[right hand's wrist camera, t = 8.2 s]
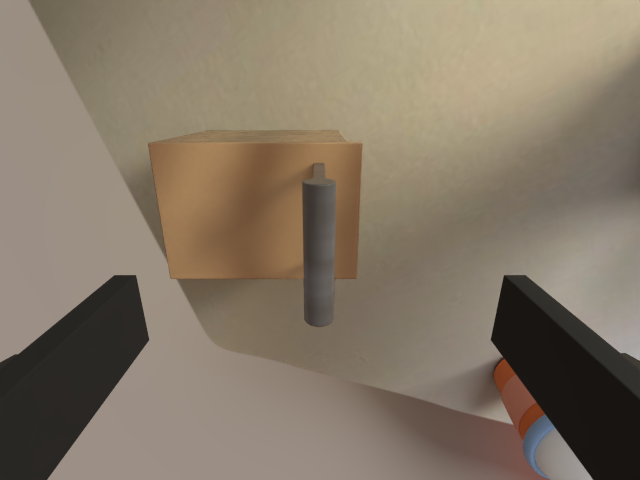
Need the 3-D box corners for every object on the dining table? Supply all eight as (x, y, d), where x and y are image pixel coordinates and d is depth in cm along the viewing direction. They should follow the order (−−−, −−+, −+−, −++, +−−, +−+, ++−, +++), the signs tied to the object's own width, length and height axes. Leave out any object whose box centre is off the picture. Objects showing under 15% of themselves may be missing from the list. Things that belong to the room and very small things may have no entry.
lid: (360, 141, 23) (382, 160, 15) (355, 272, 27) (371, 344, 19) (155, 141, 23) (67, 160, 15) (176, 272, 27) (113, 344, 19)
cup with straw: (476, 401, 46) (569, 574, 29) (485, 342, 42) (595, 498, 25) (548, 399, 45) (682, 571, 29) (562, 340, 42) (723, 495, 25)
